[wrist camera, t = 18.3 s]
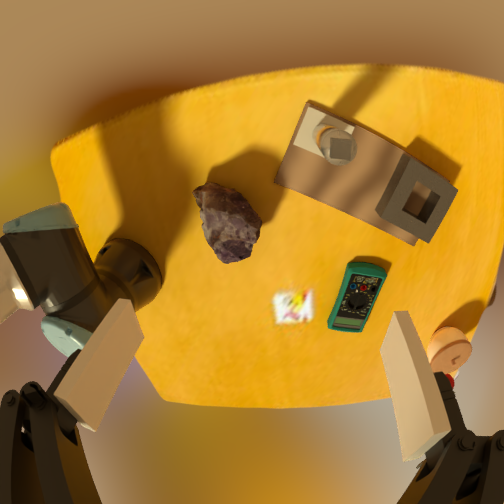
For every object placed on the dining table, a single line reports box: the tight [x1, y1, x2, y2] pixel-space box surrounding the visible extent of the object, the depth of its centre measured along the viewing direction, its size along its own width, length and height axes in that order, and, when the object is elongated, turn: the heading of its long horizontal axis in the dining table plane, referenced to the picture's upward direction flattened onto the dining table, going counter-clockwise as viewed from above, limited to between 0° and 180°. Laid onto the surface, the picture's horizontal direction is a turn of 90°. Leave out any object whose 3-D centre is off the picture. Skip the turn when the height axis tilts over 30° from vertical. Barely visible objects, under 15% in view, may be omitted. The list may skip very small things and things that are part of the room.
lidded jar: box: [427, 326, 472, 374], centre depth 47 cm, size 11×11×9 cm
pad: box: [293, 107, 355, 158], centre depth 36 cm, size 7×6×1 cm
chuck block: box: [375, 154, 458, 243], centre depth 36 cm, size 10×10×3 cm
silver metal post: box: [312, 124, 357, 166], centre depth 29 cm, size 3×3×15 cm
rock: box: [192, 182, 262, 264], centre depth 41 cm, size 12×9×10 cm
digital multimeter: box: [327, 262, 387, 332], centre depth 48 cm, size 7×15×3 cm, turn 173°
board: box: [274, 102, 450, 246], centre depth 38 cm, size 26×13×1 cm, turn 70°
